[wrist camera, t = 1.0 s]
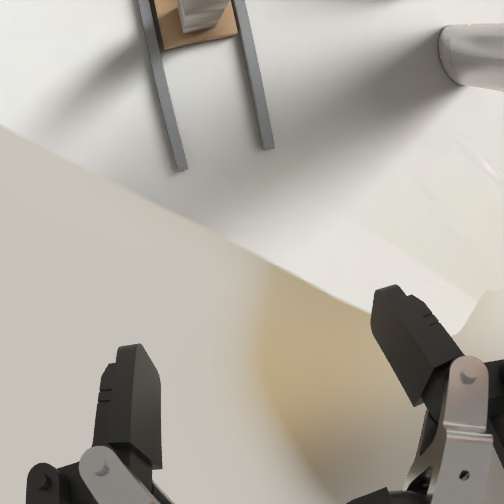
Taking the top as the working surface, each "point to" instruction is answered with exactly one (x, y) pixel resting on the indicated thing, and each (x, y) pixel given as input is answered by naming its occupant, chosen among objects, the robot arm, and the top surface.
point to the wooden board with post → (194, 21)
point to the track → (162, 85)
